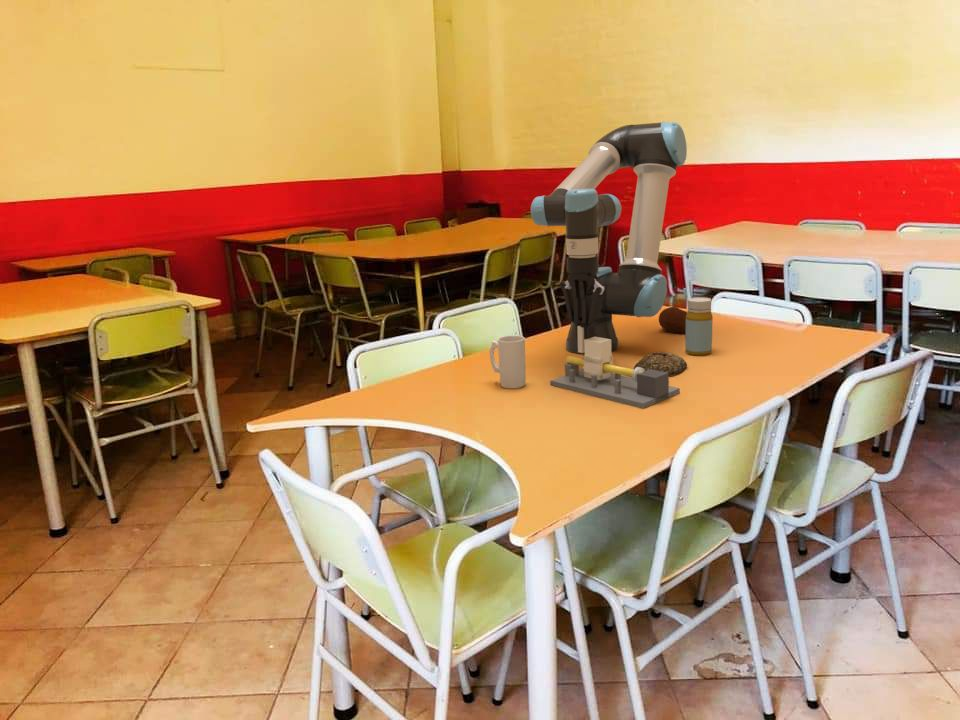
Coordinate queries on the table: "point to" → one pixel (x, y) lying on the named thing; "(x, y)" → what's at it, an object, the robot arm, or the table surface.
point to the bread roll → (662, 363)
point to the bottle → (699, 326)
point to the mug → (510, 361)
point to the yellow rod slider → (618, 384)
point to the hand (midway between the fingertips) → (583, 351)
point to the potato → (673, 320)
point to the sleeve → (597, 357)
